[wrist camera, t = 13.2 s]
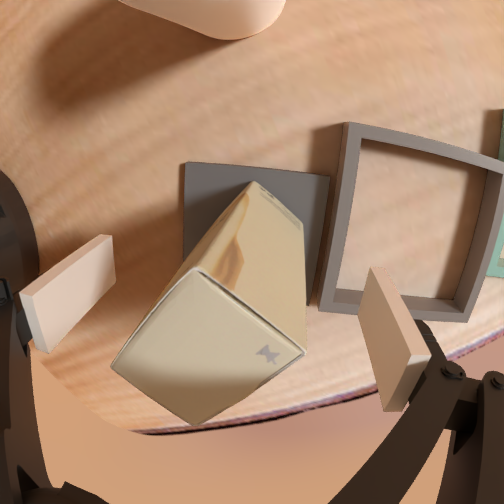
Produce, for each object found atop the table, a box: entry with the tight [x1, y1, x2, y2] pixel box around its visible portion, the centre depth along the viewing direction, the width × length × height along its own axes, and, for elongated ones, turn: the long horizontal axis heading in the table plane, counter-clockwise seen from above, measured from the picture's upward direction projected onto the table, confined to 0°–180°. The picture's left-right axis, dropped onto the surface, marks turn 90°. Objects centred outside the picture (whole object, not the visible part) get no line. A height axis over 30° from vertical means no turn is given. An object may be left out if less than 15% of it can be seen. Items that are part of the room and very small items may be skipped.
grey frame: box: [317, 122, 504, 323], centre depth 19 cm, size 12×12×2 cm
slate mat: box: [183, 162, 330, 306], centre depth 21 cm, size 9×9×1 cm
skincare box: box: [111, 181, 307, 426], centre depth 15 cm, size 6×4×12 cm
